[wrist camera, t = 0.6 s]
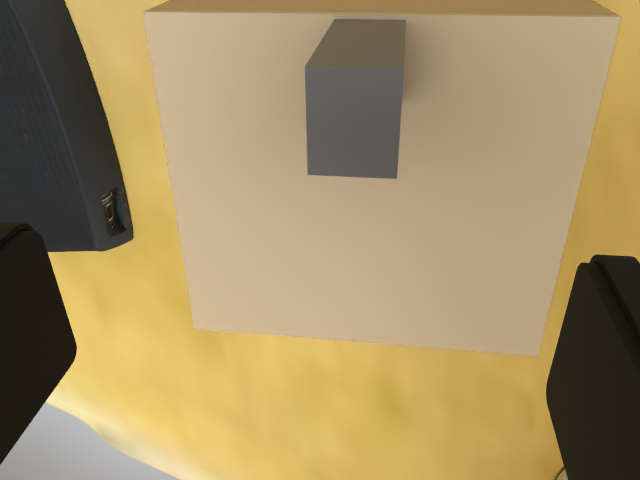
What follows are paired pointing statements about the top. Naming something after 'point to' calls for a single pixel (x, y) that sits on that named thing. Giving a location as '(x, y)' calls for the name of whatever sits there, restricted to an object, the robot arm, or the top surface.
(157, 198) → the top surface
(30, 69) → the external hard drive
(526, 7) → the carton
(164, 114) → the carton lid
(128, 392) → the top surface
